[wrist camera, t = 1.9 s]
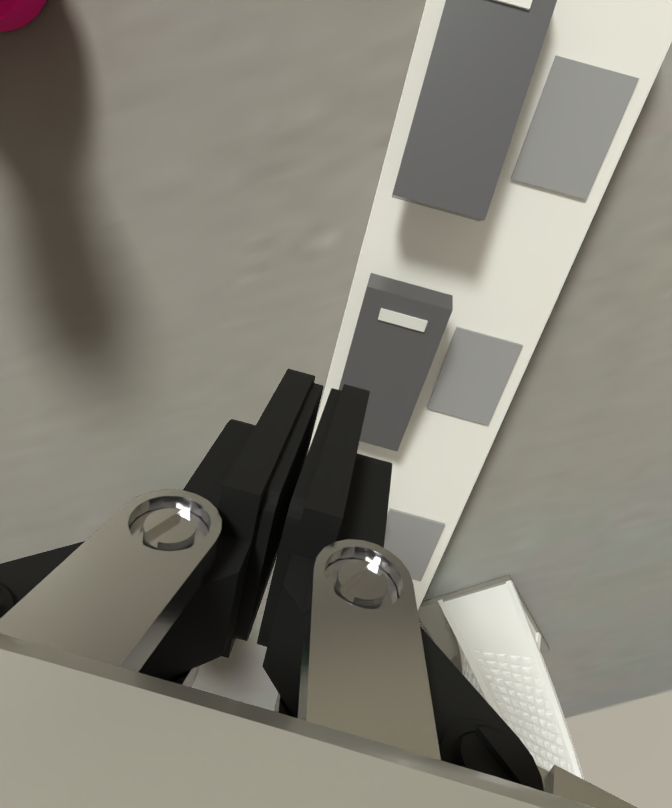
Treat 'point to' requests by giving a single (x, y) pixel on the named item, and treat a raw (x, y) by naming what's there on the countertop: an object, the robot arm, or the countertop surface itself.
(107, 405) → the countertop surface
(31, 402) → the countertop surface
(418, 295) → the middle rocker
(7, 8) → the pepper mill
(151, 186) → the countertop surface
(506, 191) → the power strip
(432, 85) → the block
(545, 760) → the skyscraper
